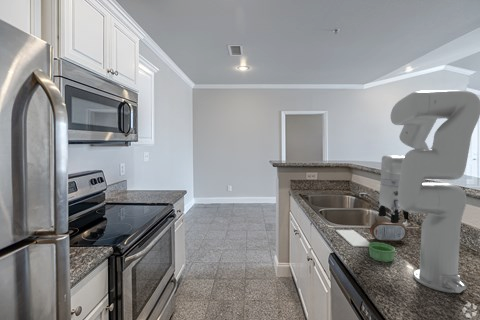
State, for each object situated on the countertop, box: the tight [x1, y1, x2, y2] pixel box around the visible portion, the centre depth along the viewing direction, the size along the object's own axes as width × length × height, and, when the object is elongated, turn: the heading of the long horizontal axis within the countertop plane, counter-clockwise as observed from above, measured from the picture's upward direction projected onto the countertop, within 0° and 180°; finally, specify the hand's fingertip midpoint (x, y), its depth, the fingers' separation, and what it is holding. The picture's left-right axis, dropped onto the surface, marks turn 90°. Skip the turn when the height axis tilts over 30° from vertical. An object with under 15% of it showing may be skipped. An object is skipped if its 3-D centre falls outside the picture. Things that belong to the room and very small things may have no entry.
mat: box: [335, 229, 371, 248], centre depth 119 cm, size 20×9×1 cm, turn 0°
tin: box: [369, 221, 407, 242], centre depth 117 cm, size 15×3×8 cm, turn 84°
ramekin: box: [368, 241, 396, 263], centre depth 99 cm, size 9×9×4 cm
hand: (388, 219), depth 117 cm, fingers open, 9 cm apart
